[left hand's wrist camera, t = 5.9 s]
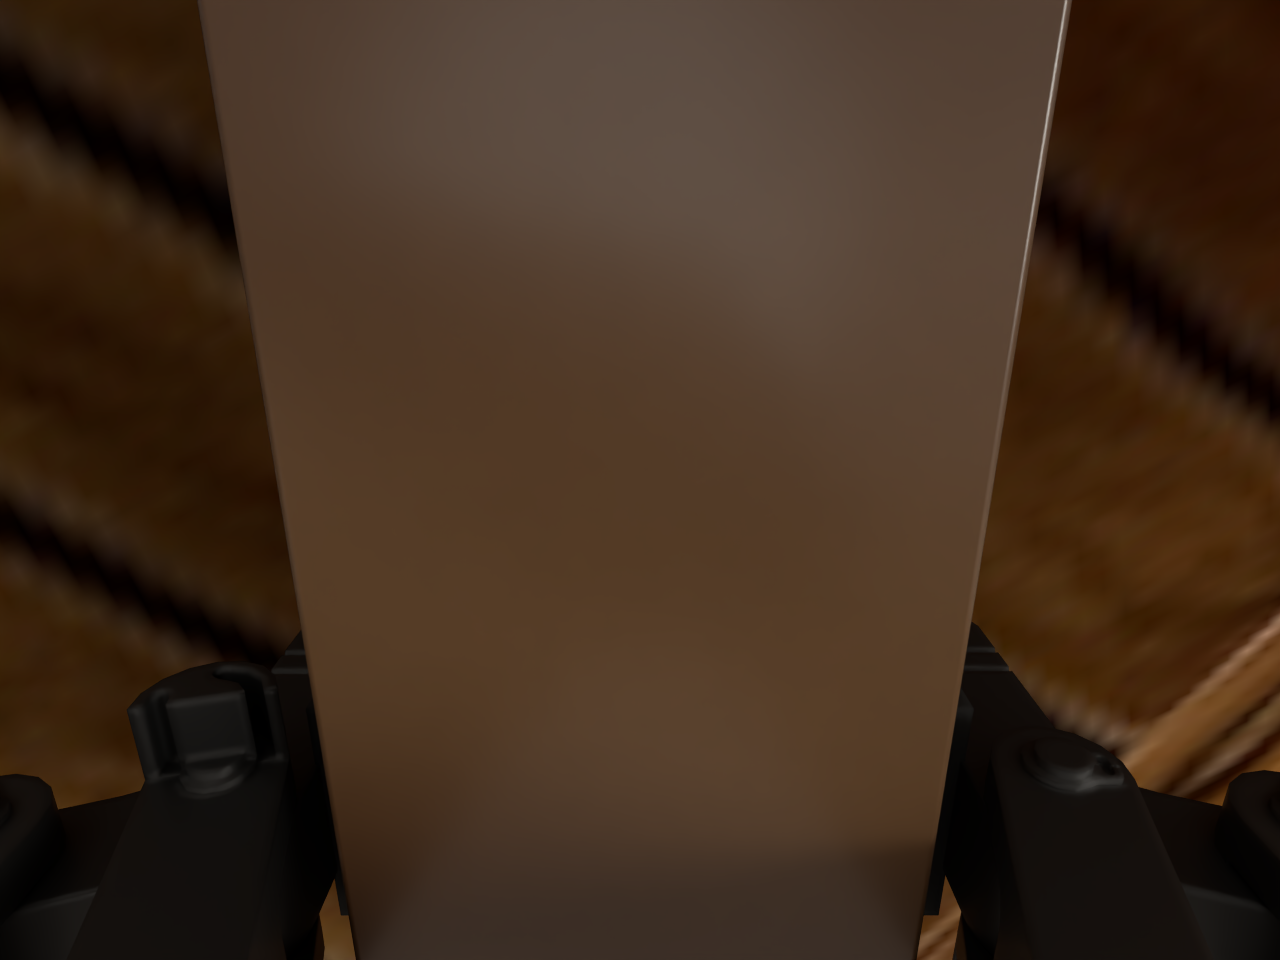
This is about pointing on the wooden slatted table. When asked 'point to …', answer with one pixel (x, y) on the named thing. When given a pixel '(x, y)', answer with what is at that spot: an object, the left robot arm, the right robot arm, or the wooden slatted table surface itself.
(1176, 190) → the wooden slatted table surface
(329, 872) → the left robot arm
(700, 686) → the beam
